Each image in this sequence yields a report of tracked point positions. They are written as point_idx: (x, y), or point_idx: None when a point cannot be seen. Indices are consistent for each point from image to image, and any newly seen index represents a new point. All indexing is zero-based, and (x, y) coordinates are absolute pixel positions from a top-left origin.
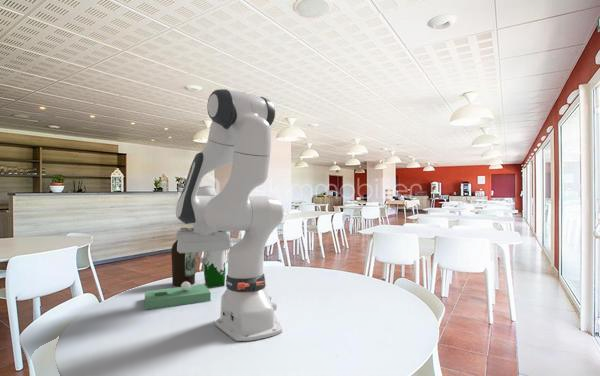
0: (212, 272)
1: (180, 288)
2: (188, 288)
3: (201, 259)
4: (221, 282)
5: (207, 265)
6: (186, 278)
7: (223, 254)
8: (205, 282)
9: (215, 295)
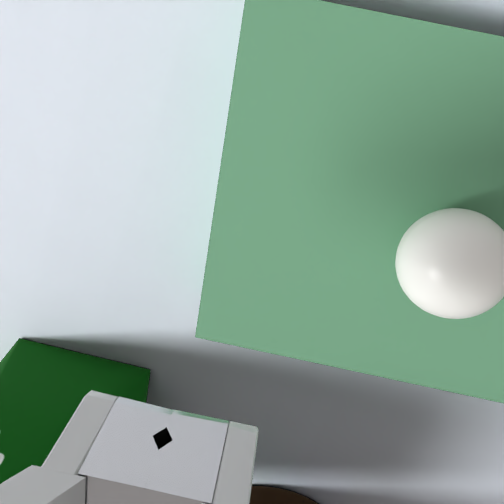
0: None
1: (436, 346)
2: (440, 210)
3: (234, 494)
4: (28, 360)
5: None
6: None
7: None
8: None
9: (159, 132)
